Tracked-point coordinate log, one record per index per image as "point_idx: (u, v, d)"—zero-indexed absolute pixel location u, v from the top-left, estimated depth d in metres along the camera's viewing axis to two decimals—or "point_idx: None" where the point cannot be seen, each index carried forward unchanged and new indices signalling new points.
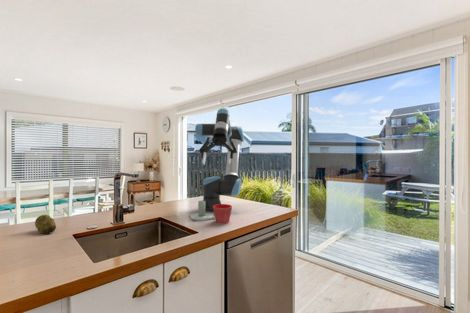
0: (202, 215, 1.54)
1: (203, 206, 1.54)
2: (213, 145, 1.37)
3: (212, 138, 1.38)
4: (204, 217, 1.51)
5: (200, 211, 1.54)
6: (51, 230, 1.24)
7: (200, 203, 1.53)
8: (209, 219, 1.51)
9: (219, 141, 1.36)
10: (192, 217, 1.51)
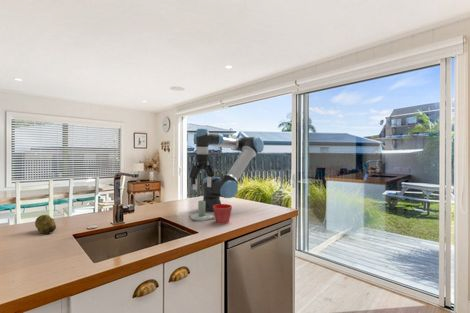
0: (202, 215, 1.54)
1: (203, 206, 1.54)
2: (205, 168, 1.57)
3: None
4: (204, 217, 1.51)
5: (200, 211, 1.54)
6: (51, 230, 1.24)
7: (200, 203, 1.53)
8: (209, 219, 1.51)
9: None
10: (192, 217, 1.51)
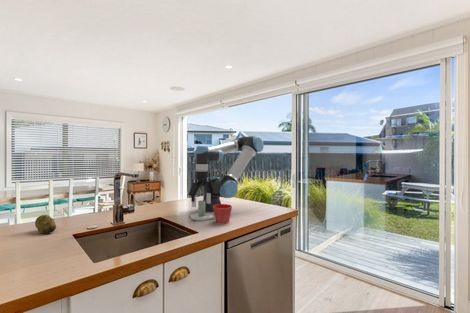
0: (202, 215, 1.54)
1: (203, 206, 1.54)
2: (205, 185, 1.57)
3: None
4: (204, 217, 1.51)
5: (200, 211, 1.54)
6: (51, 230, 1.24)
7: (200, 203, 1.53)
8: (209, 219, 1.51)
9: None
10: (192, 217, 1.51)
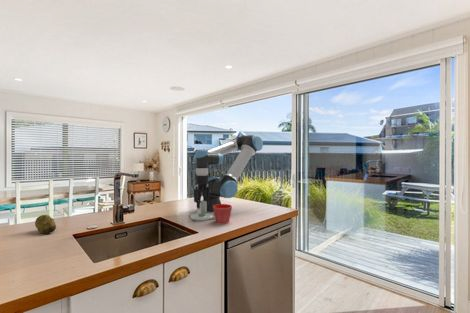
0: (202, 215, 1.54)
1: (203, 206, 1.54)
2: (203, 190, 1.56)
3: None
4: (204, 217, 1.51)
5: None
6: (51, 230, 1.24)
7: None
8: (209, 219, 1.51)
9: None
10: (192, 217, 1.51)
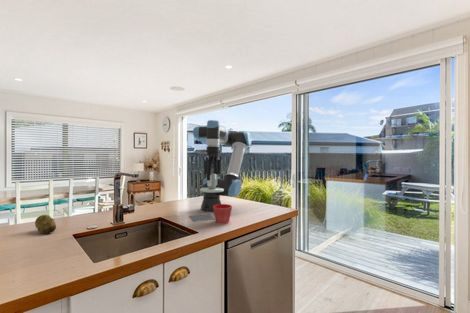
0: (212, 188, 1.47)
1: (213, 178, 1.48)
2: (214, 162, 1.50)
3: None
4: (214, 189, 1.45)
5: None
6: (51, 230, 1.24)
7: None
8: None
9: None
10: (202, 189, 1.45)
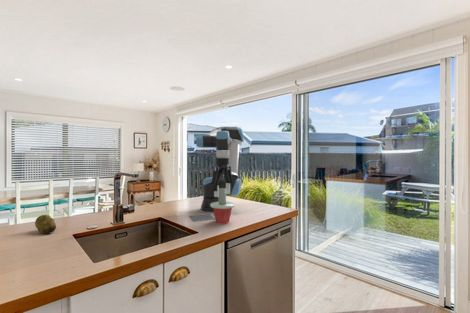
0: (223, 203, 1.45)
1: (224, 194, 1.45)
2: (225, 173, 1.48)
3: None
4: (225, 205, 1.42)
5: (221, 199, 1.45)
6: (51, 230, 1.24)
7: (221, 190, 1.44)
8: (230, 207, 1.42)
9: None
10: (212, 205, 1.42)
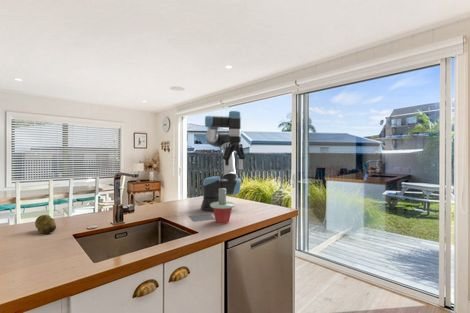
0: (223, 203, 1.45)
1: (224, 194, 1.45)
2: (237, 151, 1.59)
3: None
4: (225, 205, 1.42)
5: (221, 199, 1.45)
6: (51, 230, 1.24)
7: (221, 190, 1.45)
8: (231, 207, 1.42)
9: None
10: (212, 205, 1.42)
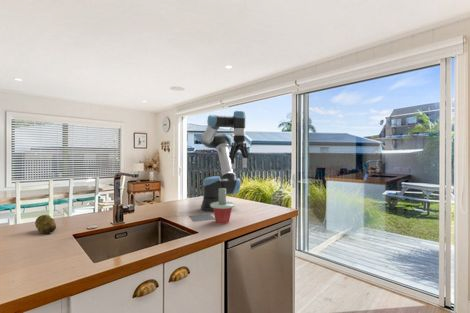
0: (223, 203, 1.45)
1: (224, 194, 1.45)
2: (242, 149, 1.64)
3: None
4: (225, 205, 1.42)
5: (221, 199, 1.45)
6: (51, 230, 1.24)
7: (221, 190, 1.45)
8: (230, 207, 1.42)
9: None
10: (212, 205, 1.42)
